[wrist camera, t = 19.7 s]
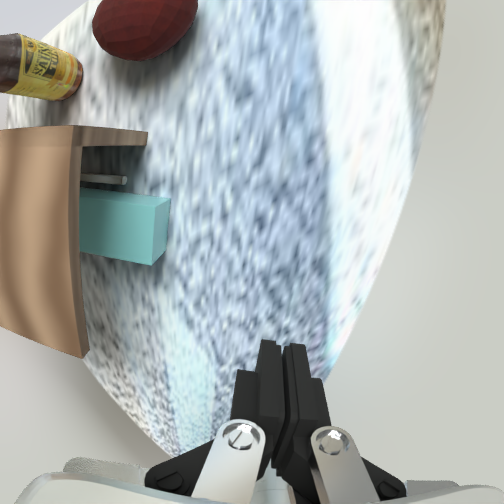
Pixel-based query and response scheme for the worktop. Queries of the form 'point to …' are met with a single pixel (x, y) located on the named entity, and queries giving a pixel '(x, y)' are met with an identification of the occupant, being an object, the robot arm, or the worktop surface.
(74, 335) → the overhang shelf
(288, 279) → the worktop surface
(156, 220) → the teal rectangular block
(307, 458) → the robot arm
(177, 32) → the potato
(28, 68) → the sauce bottle
